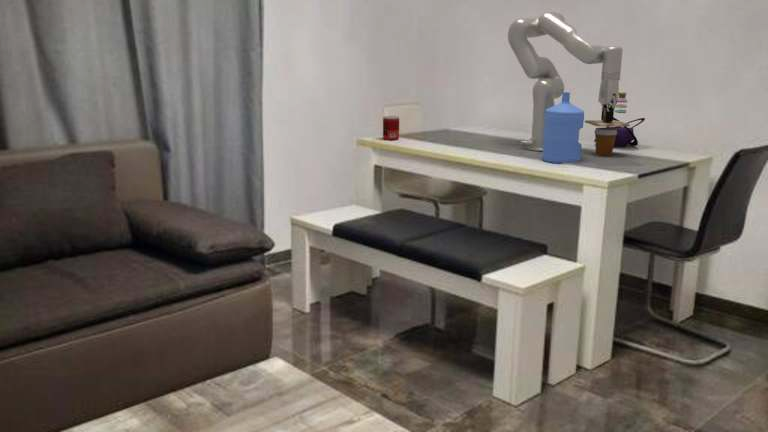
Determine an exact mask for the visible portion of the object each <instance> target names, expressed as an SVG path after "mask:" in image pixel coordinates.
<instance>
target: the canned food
mask: <svg viewBox="0 0 768 432" xmlns="http://www.w3.org/2000/svg"><path fill="white" fill-rule="evenodd" d="M382 139H383V141H393V142H394V141H398V140H399V139H400V117H399V115H398V116H397V115H384V116H383V117H382Z"/></svg>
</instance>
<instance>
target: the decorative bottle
mask: <svg viewBox="0 0 768 432" xmlns="http://www.w3.org/2000/svg"><path fill="white" fill-rule="evenodd" d="M626 96H627V92H622V91H621V92H619V95H618V103H625V104H616V107H615V108H617V109H614V112H615V113H618V114H626V113H627V110H626V109H627V107H628V105H627V104H626V103H628V99H626ZM618 108H621V109H618ZM623 108H624V109H623ZM613 120H617V121H620V120H618V119H617V118H615V117H614V116H613ZM645 120H646V118H645V117H642V118H641V117H640V118H637V119H633V120H631V121H630V120H629V121H628V122H626V123H627V124H630V123H633V122H638V121H639V122H638V123H636V124H635V125H633V126H630V127H629V126H607V127H604V128H614V129H617V132H618V133H617V135H616V138H615V142H614V147H613V148H619V147H621V148H626V147H627V146H628V145H630V146H633V147H636V146H638V144H639V142H638V139H637V137H636V135H635V133H634V128H635V127H637V126H639V125H640V124H641V123H643V122H644V121H645ZM593 142H594V143H596V141H595V139H594V140H593Z"/></svg>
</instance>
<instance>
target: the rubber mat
mask: <svg viewBox="0 0 768 432" xmlns="http://www.w3.org/2000/svg"><path fill="white" fill-rule="evenodd" d="M586 160H588V161H589V162H591V163H594V164H596V165H598V166H600V167H610V166H611V167H619V166H620V167H623V166H625V167H628V166H629V167H636V166H637V167H638V166H640V167H641V166H645V165H644V164H642V163H641V162H640V163H639V162H637V161H634V160H632V159H630V158H622V157H621V158H586Z"/></svg>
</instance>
